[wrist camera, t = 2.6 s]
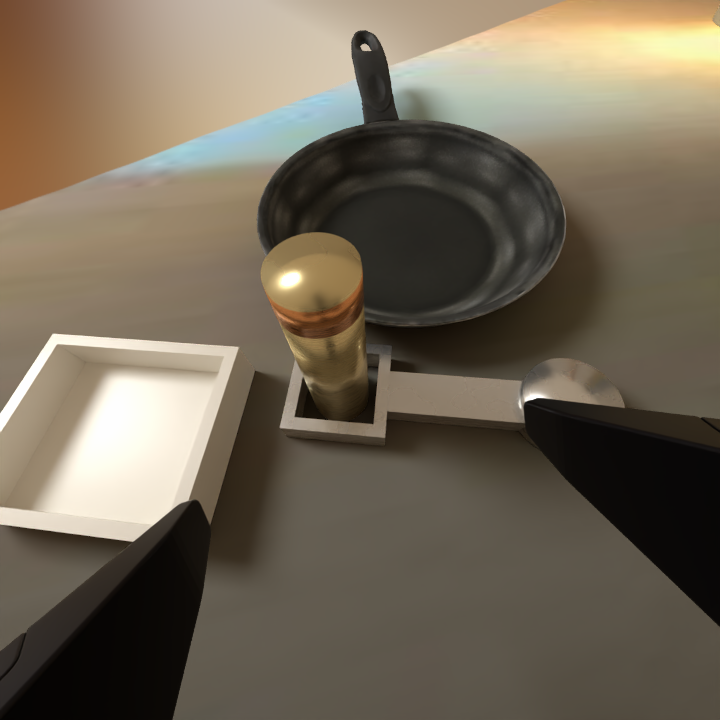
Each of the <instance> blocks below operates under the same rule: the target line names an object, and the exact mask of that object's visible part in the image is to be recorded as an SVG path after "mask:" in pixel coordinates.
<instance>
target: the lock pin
mask: <svg viewBox="0 0 720 720" xmlns="http://www.w3.org/2000/svg"><path fill="white" fill-rule="evenodd" d="M261 281H262V284H263V287H264V290H265V292H266V294H267V297H268V299H269V301H270V304H271V306H272V308H273V310H274V313H275V315H276V317H277V319H278V321H279V323H280V325H281V327H282V330H283V332H284V334H285V336H286V339H287V341H288V343H289V345H290V348H291V350H292V352H293V355H294V357H295V359H296V361H297V364H298V366H299V368H300V370H301V373H302V375H303V377H304V380H305V382H306V384H307V386H308V389H309V391H310V393H311V395H312V398H313V400H314V402H315V405H316V407H317V409H318V410H319V412H320V413H321V414H322V415H323V416H324V417H326V418H327V419H329V420H332V421H343V422H345V421H350V420H352V419H354V418H356V417H358V416H359V415H360V414H361V413H362V412H363V411H364V409H365V408H366V406H367V403H368V399H369V388H368V370H367V352H366V334H365V316H364V289H363V270H362V263H361V258H360V255H359V253H358V251H357V250H356V248H355V247H354V246H353V245H352V244H351V243H350V242H348V241H347V240H345V239H344V238H342V237H339V236H337V235H333V234H329V233H322V232H312V233H305V234H300V235H296V236H293V237H291V238H289V239H286V240H284V241H283V242H281V243H280V244H278V245H277V246H276V247H274V248H273V249H272V250H271V251H270V252H269V254H268V255H267V256H266V258H265V260H264V262H263V264H262V268H261Z"/></svg>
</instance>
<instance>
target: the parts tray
mask: <svg viewBox="0 0 720 720" xmlns="http://www.w3.org/2000/svg"><path fill="white" fill-rule="evenodd" d="M254 373H255V369H254V368H253V367H252V365H251V364H250V362H249V361H248V359H247V358H246V357H245V355H244V354H243V352H242V351H241V349H240V348H239V347H230V346H216V345H202V344H188V343H174V342H160V341H146V340H132V339H118V338H104V337H90V336H76V335H62V334H53V335H52V336H51V338H50V339H49V341H48V342H47V344H46V345H45V347H44V348H43V350H42V351H41V353H40V355H39V356H38V358H37V359H36V361H35V362H34V364H33V365H32V367H31V368H30V370H29V371H28V373H27V374H26V376H25V377H24V379H23V380H22V382H21V383H20V385H19V386H18V388H17V389H16V391H15V393H14V394H13V396H12V397H11V399H10V400H9V402H8V403H7V405H6V406H5V408H4V409H3V411H2V412H1V414H0V524H2V525H9V526H17V527H25V528H32V529H40V530H48V531H55V532H63V533H71V534H78V535H86V536H94V537H101V538H109V539H117V540H124V541H132V542H134V541H135V540H136V539H137V538H138V537H140V536H141V535H142V534H143V533H144V532H146V531H147V530H148V529H149V528H150V527H152V526H153V525H154V524H155V523H157V522H158V521H159V520H160V519H161V518H163V517H164V516H165V515H166V514H167V513H169V512H170V511H171V510H172V509H173V508H175V507H176V506H177V505H178V504H180V503H183V502H186V501H190V500H193V499H196V500H198V501H199V502H200V504H201V506H202V508H203V510H204V513H205V515H206V517H207V519H208V522H209V524H211V521H212V518H213V514H214V511H215V507H216V504H217V500H218V497H219V494H220V490H221V487H222V483H223V480H224V476H225V473H226V469H227V466H228V463H229V459H230V456H231V452H232V449H233V445H234V442H235V438H236V435H237V432H238V428H239V425H240V421H241V418H242V414H243V411H244V408H245V404H246V401H247V397H248V394H249V390H250V387H251V383H252V380H253V377H254Z"/></svg>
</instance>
